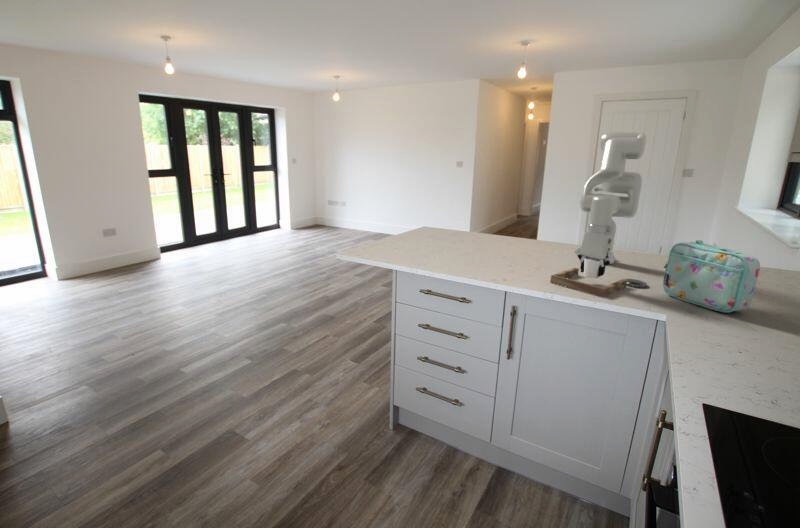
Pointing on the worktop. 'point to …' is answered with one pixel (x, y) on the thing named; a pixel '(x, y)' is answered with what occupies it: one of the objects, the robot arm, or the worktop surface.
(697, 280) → the lunch box
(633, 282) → the dark grey round dish
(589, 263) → the white cup
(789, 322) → the worktop surface
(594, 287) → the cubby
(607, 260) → the robot arm
